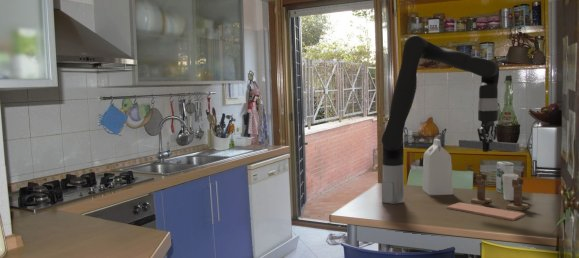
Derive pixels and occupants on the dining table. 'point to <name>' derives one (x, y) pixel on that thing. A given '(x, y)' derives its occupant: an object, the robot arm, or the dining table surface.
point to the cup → (508, 186)
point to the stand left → (481, 190)
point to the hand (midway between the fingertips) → (487, 151)
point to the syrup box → (503, 169)
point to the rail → (490, 145)
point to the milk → (437, 170)
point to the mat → (486, 211)
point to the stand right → (517, 195)
